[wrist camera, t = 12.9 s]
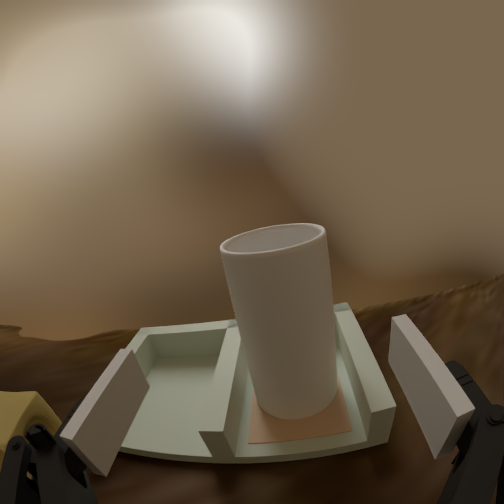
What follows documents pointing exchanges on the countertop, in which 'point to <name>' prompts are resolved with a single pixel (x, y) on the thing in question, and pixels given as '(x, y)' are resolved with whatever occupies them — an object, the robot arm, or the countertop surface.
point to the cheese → (23, 417)
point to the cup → (285, 316)
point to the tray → (248, 399)
